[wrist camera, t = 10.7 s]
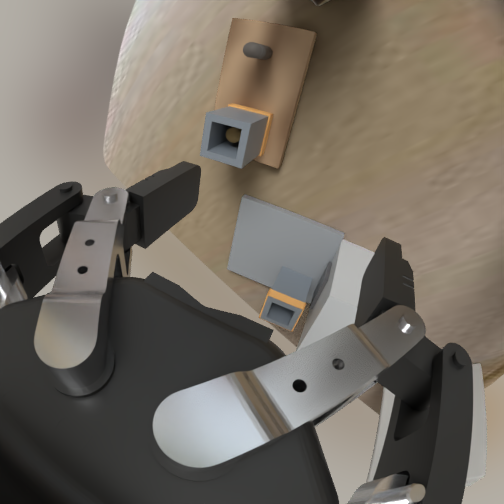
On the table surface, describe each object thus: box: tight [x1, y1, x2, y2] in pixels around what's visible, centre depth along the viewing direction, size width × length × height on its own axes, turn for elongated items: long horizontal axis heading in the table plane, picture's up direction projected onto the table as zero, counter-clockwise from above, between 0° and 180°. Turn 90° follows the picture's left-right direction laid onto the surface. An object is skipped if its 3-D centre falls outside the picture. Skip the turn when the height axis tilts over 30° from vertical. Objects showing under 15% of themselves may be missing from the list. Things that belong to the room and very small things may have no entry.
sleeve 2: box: [259, 266, 313, 332], centre depth 43 cm, size 5×5×7 cm
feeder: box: [227, 194, 374, 351], centre depth 39 cm, size 23×14×12 cm, turn 77°
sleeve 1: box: [200, 103, 273, 169], centre depth 31 cm, size 5×5×7 cm
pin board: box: [214, 18, 317, 168], centre depth 29 cm, size 10×18×6 cm, turn 167°
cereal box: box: [366, 363, 487, 486], centre depth 38 cm, size 22×8×25 cm, turn 106°
